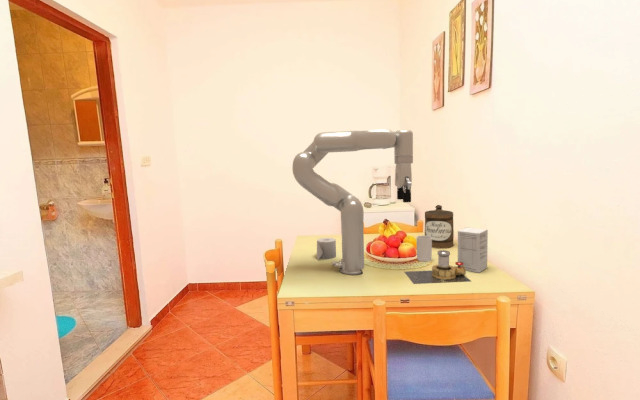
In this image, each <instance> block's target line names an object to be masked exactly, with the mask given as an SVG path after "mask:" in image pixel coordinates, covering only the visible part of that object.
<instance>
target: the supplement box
mask: <svg viewBox="0 0 640 400" xmlns="http://www.w3.org/2000/svg"><path fill="white" fill-rule="evenodd" d="M488 234H489V233H488V229H483V228H476V227H475V228H474V227H465V228H463V229H462V228H461V229H459V230H458V231H457V262H463V263H464V265H460V266H464V267H465V269H466V271H468V272H472V273H473V272H474V273H477V274H478V273H481V272H482V271H484V270H486V269H487V268H488Z"/></svg>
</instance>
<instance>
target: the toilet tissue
mask: <svg viewBox="0 0 640 400" xmlns="http://www.w3.org/2000/svg"><path fill="white" fill-rule="evenodd" d="M336 240H337V239H335V238H333V237H321V238H318V239H317V240H316V259H317V261H319V259H320V260H332V259H334V258H336V257H337V246H336V245H337V241H336Z"/></svg>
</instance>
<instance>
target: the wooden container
mask: <svg viewBox="0 0 640 400" xmlns="http://www.w3.org/2000/svg"><path fill="white" fill-rule="evenodd" d="M454 233H455V232H454V212H453V211H452V210H443V206H442V204H441V205H440V204H436V206H435V209H434V210H426V211H424V236H431V237H432V249H449V248H452V247H453V246H454V237H455V236H454Z"/></svg>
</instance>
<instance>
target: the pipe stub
mask: <svg viewBox="0 0 640 400" xmlns="http://www.w3.org/2000/svg"><path fill="white" fill-rule="evenodd" d="M437 255H438V256H437V257H438V258H437V259H438V260H437V263H438V264H437V265H438V269H440V270H449V265H450V255H451V252H450V250H445V249H444V250H443V249H442V250H438V251H437Z"/></svg>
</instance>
